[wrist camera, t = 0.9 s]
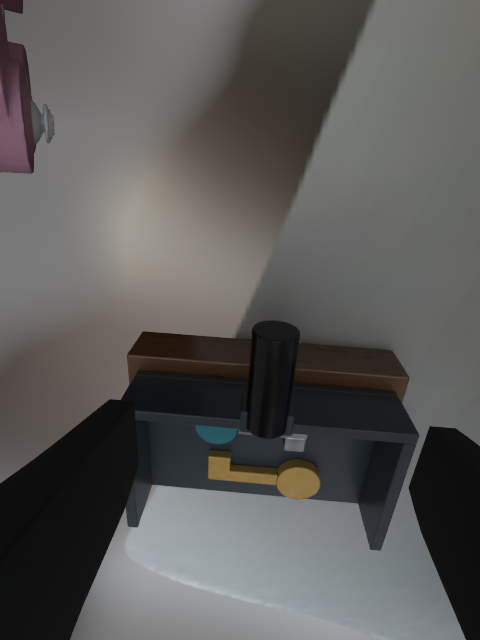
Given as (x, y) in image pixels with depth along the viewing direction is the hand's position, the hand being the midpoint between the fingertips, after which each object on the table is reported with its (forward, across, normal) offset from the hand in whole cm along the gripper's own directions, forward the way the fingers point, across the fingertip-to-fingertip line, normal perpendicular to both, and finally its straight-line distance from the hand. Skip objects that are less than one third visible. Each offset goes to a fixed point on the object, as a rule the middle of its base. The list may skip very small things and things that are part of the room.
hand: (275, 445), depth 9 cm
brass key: (+7, 0, +8) cm, 11 cm away
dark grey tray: (+7, 0, +4) cm, 9 cm away
